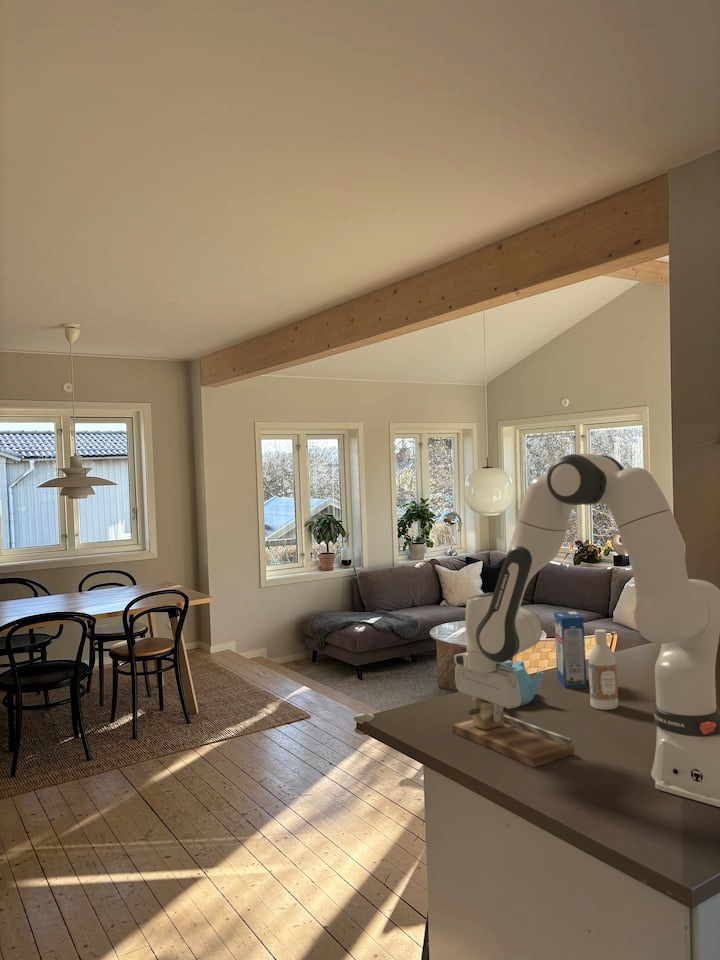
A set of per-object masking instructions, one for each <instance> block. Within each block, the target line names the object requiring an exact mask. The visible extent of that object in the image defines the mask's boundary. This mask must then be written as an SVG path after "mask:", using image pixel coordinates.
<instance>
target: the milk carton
mask: <svg viewBox="0 0 720 960" xmlns="http://www.w3.org/2000/svg"><path fill="white" fill-rule="evenodd" d="M553 618H554V632H555V633H554V634H555V653H556V655H555V657H556V673H557V674H556V676H557V680H558V681H559V683H561V685H562V687H564V689H571V688H573V689H575V688H588V684H587V662H586V644H585V643H586V642H585V625H584V624H585V623H584V622H585V621H584V617H583V616H582V615H581V614H579V612H577V611H576V610H575V611H555V612H553Z"/></svg>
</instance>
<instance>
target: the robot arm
mask: <svg viewBox="0 0 720 960" xmlns="http://www.w3.org/2000/svg"><path fill="white" fill-rule="evenodd" d="M599 504H602V505H604V506H605V507H606V508H607V509H608V510H609V512H610V513H611V515H612V517H613V520H614V522H615V524H616V528H617V530H618V533H619V536H620V538H621V541H622V543H623V546H624V549H625V550H626V551H625V552H626V553H627V556H628V559H629V563H630V566H631V570H632V573H633V574H632V575H633V581H634V589H635V595H636V597H635V599H636V603H635V609H634V611H633V618H634V623H635V624H634V625H635V627H636V629H637V631H638V632H639V634H640V635H641V636H642V637H643V638H644V639H646V640H647V641H649V642H652V643H654V644H657V645H661V647H660V651H659V655H658V657H657V660H656V662H655V664H654V665H655V666H654V680H655V682H654V684H655V685H654V686H655V704H654V706H653V709H654V711H653V712H654V714H653V717H654V724H655V726H656V740H655V741H656V743H655V753H654V760H653V765H652V769H651V772H650V775H651V778H652V779H653V780H654V782H655V783H654V787H655V789H657V790H659V791H662V792H666V793H669V794H673V795H675V796H679V797H683V798H687V799H691V800H693V801H697V802H701V803H705V804H707V805H710V806H711V805H712V806H715V807H719V808H720V711H719V709H718V708H717V694H716V661H717V653H718V647H719V640H720V588H718V587H717V585H715V584H713V583H711V582H710V581H707V580H702V579H694V578H690V579H689V577H688V572H687V565H686V551H687V548H686V543H685V541H684V538H683V536H682V533H681V531H680V528H679V526H678V524H677V522H676V518H675V516H674V514H673V512H672V509H671V507H670V505H669V503H668V501H667V499H666V497H665V495H664V493H663V491H662V489H661V487H660V486H659V484H658V483H657V481H656V479H655V478H654V477H653V475H652V474H651V473H650V471H648V470H646V469H645V468H642V467H637V466H636V467H628V468H624V467H623V466H622V464H621V463H620V462H619V461H618V460H616V459H615V458H613V457H611V456H607V455H602V454H601V455H597V454H593V453H578V454H577V453H574V454H573V453H572V454H568V455H564V456H562V457H559V458H557V460H555V461H554V462H553V463H551V465H550V467H549V469H548V471H547V474H543V475H539V476H536V477H534V478H533V479H531V481H530V482H529V484H528V486H527V489H526V491H525V493H524V496H523V499H522V502H521V505H520V508H519V511H518V515H517V519H516V524H515V527H514V532H513V535H512V539H511V542H510V545H509V547H508V550H507V554H506V556H505V559H504V561H503V564H502V566H501V570H500V571H499V575H498V579H497V581H496V585H495V587H494V590H493V591H494V592H486V593H485V592H484V593H481V594H480V593H479V594H476V595H473V596H470V597H469V598H468V599H467V602H466V606H465V621H464V622H465V633H466V636H467V644H466V651H465V652H463V653H462V652H461V653H458V654H455V655H454V657H453V658H454V659H453V661H454V664H456V665H455V667H454V679H455V686H456V689H457V691H458V692H460V693H463V694H466V695H469V696H471V697H472V698H471V699H472V701H473V700H477V699H482V700H485V701H488V702H491V703H493V707H494V708H495V709H494V712H493V713H491V720H493V721H495V722H498V721H500V720H501V712H502V710H503V711H504V708H505V709H509V710H510V709H511V710H512V709H515V708H518V707H520V706H519V705H520V703H521V695H520V688H519V683H518V679H517V676H516V673H515V672H514V671H513V670H512V668H511V667H506V666H505V663H504V662H505V661H510V660H511V659H512V658H514V657H515V656H516V655H519V654H521V653H523V652H525V651H526V650H529V649H530V648H532V647H533V646H535V645H536V644H538V643H539V642H540V640H541V639H542V635H543V634H542V633H543V627H542V623H541V620H540V619H539V616H537V615H536V613H534V612H533V611H532V610H530V609H527V608H523V607H521V606H522V602H523V600H524V599H523V598H524V595H525V592H526V589H527V587H528V585H529V583H530V581H531V580H532V578H533V577H534V576H535V575H536V574H537V573H538V572H540V571H541V570H542V569H543V568H544V567H545V566H546V565H548V564H549V563H551V562H552V561H553V560H554V559H556V557H558V554H559V553H560V550H561V548H562V546H563V543H564V541H565V537H566V532H567V529H568V523H569V519H570V516H571V513H572V511H573V509H574V508H575V507H577V506H581V505H584V506H593V505H599Z"/></svg>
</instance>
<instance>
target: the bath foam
mask: <svg viewBox="0 0 720 960" xmlns="http://www.w3.org/2000/svg"><path fill="white" fill-rule="evenodd" d="M594 640H595V644H594V646H593V648H592V649H591V651H590V653H589V655H588V661H587V662H588V681H589V682H588V683H589V697H590V698H589V699H590V700H589V701H590V706H591V707H592V708H593V709H597V710H604V711H609V710H614V709H617V708H618V706H619V692H618V690H619V689H618V673H617V661H616V659H617V658H616V656H615V654H614V652H613V650H612V649H611V647H610V646H609V645H608V634H607V630H606V629H602V628H601V629H599V628H598V629H595V630H594Z"/></svg>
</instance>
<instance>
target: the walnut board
mask: <svg viewBox="0 0 720 960" xmlns="http://www.w3.org/2000/svg"><path fill="white" fill-rule="evenodd" d="M503 716H504V725H501V726H498V727H494V728H490V729H486V730H484V729H481V728H479V727H476V726H474V722H473V718H472V719H468V720H464V721H461V722H457V723H453V724H451V725H452V733H453V734H455V735H457V736H460V737H462V738H464V739H467V740H469V741H472V742H473V741H474V743H476V744H478V745H480V744H481V745H480V746H483V747H485V748H487V747H488V749H490V750H493V751H494V750H495V751H494V752H497V753H500V754H501V753H502V755H503V756H507V757H508V756H509V758H510V759H513V758H514V759H513V760H515V759H516V760H515V761H518V762H520V763H522V762H523V763H522V764H525V765H527V766H529V765H530V767H532V768H537V767H539V765H540V766H542V764H543V765H545V763H546V764H549V763H552V762H555V761H558V760H561V759H564V758H563V757H565V758H567V757H566V756H568V757H570V756H569V755H571V756H574V755H575V745H574V744H573V739H572V738H570V737H567V736H565V735H562V734H559V733H557V732H553V731H550V730H548V729H545V728H542V727H539V726H538V725H537V726H536V725H534V724H531V723H528V722H526V721H524V720H520V719H518V718H514V717H513V716H509V715H507V714H504V713H503ZM573 754H574V755H573ZM557 759H558V760H557ZM554 760H555V761H554ZM551 761H552V762H551ZM548 762H549V763H548ZM536 766H537V767H536Z"/></svg>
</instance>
